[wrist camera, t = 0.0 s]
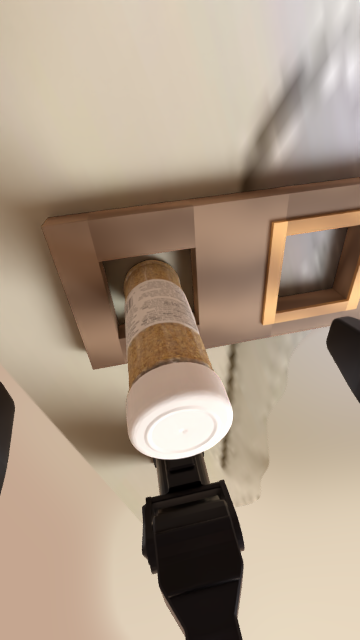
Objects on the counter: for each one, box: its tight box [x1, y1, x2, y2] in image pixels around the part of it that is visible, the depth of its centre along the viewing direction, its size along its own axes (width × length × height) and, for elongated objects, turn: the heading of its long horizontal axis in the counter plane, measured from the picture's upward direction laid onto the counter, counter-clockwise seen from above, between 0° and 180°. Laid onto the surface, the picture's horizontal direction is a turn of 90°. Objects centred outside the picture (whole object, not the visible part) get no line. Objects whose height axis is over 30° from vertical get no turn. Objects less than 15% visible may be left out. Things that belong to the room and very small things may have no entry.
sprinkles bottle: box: [123, 260, 233, 459], centre depth 17 cm, size 5×5×14 cm
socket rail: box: [41, 177, 360, 370], centre depth 22 cm, size 12×26×2 cm, turn 95°
